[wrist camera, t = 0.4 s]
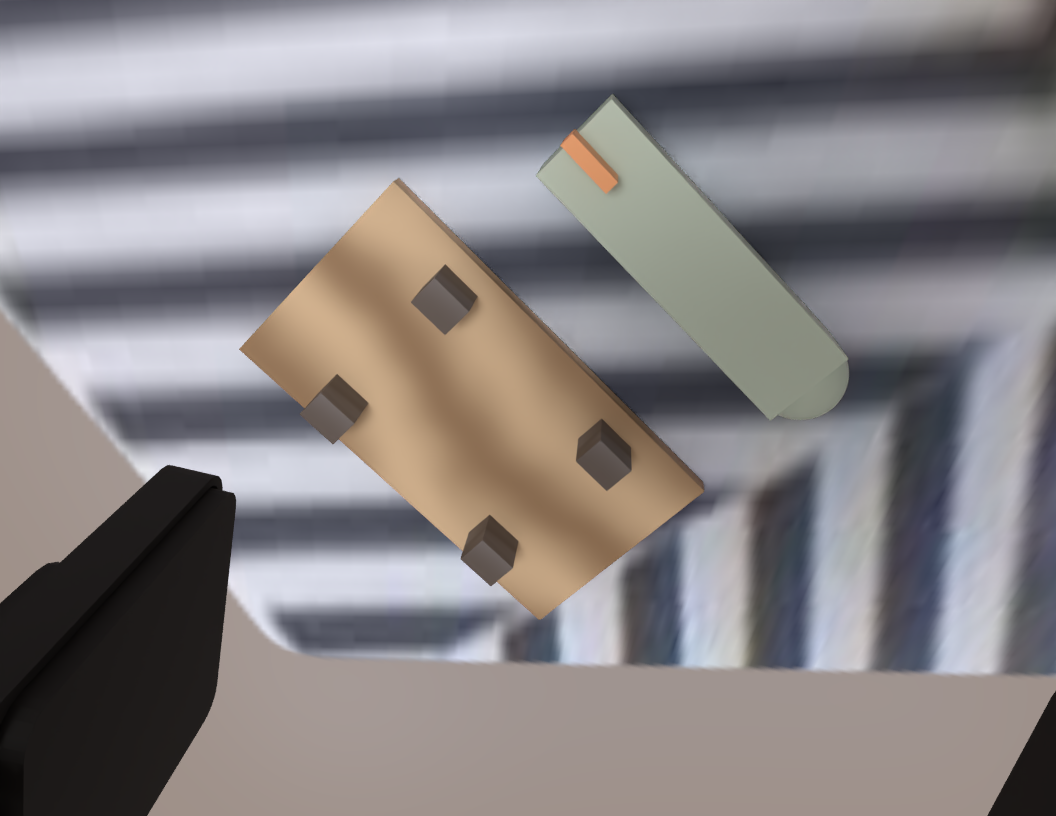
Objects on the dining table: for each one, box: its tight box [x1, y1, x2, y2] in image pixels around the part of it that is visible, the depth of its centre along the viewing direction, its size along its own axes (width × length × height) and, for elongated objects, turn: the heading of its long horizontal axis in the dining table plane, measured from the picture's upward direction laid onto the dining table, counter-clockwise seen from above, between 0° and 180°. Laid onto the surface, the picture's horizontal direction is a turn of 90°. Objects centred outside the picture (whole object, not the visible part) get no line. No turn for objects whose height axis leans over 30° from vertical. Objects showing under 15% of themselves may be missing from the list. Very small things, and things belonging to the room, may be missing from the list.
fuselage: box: [536, 94, 849, 421], centre depth 37 cm, size 4×16×6 cm, turn 45°
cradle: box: [239, 178, 704, 620], centre depth 42 cm, size 11×20×4 cm, turn 45°
